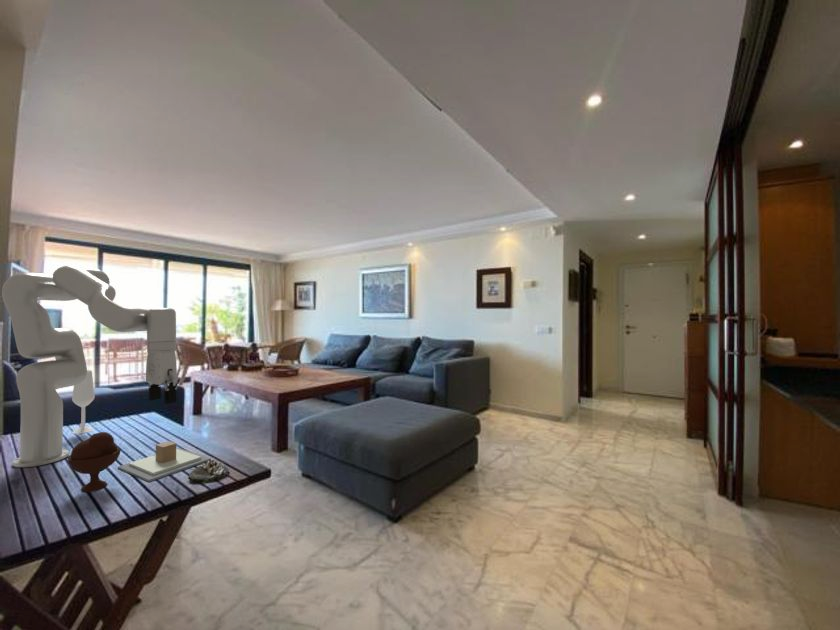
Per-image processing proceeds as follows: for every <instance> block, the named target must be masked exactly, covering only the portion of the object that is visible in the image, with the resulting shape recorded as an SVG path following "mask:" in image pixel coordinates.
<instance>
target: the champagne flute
mask: <svg viewBox="0 0 840 630" xmlns="http://www.w3.org/2000/svg"><path fill="white" fill-rule="evenodd" d="M93 376H94V375H93V370H91V369H87V375H86V378H85V379H84V381H83V382H81V383H80V384H77V385H74V386H73V391H72V398H71V401H72V402H73V403H74V404H75V405H76V406H78V407H80V408H81V411H80V413H81V417H80V419H81V421H80V426H79V427H78V428H76V429H75V430H73V431H71V434H75V435H78V434H86V433H90V432H93V431H94V430H95V429H94V428H93V427H90V426H86V407H88V406H90V404H91V403H92V402H93V401H94V400H95V398H96V396H95V395H96V394H95V389H94V388H95V385H94V378H93Z"/></svg>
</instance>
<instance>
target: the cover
mask: <svg viewBox="0 0 840 630" xmlns="http://www.w3.org/2000/svg"><path fill="white" fill-rule="evenodd" d="M200 459H201V457H200V456H197V455H194V454H191V453H188V452H185V451H182V450H179V449H178V448H177V442H175V441H174V442H173V441H171V440H168V441H165V442H161V443H158V444H155V455H151V456H147V457H144V458H140V459H137V460H134V461H131V462H129V466H131V467H134V468H136V469H138V470H141V471H143V472H146V473H148V474H150V475H153V476H154V475H157V474H159V473H162V472H165V471H168V470H171V469H174V468H177V467H180V466H183V465H186V464H189V463H192V462H195V461H197V460H200Z"/></svg>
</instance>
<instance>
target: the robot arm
mask: <svg viewBox="0 0 840 630" xmlns="http://www.w3.org/2000/svg"><path fill="white" fill-rule="evenodd" d="M110 282H111V281H110V278H109V276H108V275H107V274H106V273H105V272H104V271H102V269H101V270H100V269H98V268H92V267H88V266H87V267H86V266H80V265H63V266H61V267H58V268H57V269H55V270H54V272H53V274H46V273H40V272H39V273H37V272H36V273H35V272H22V273H21V272H20V273H17V274H13V275H11V276H9V278H7V279H6V280H5V282H4V283H3V285H2V288H1V298H2V301H3V304H4V306H5V308H6V310H7V312H8V315H9V317H10V321H11V326H12V331H13V332H12V333H13V335H14V341H15V344H16V348H17V352H18V353H19V355H20V356H21V357H23V358H27V359H43V358H52V357H53V358H55V359H53V360H47V361H39V362H38V361H37V362H33V363H29V364H27V365H25V366H23V367H21V369H19V370H18V372H17V374H16V378H15V381H16V385H17V389H18V392H19V399H20V400H19V401H20V425H19V426H20V428H19V429H20V434H19V437H20V438H19V439H20V440H19V443H20V444H19V446H20V447H19V457H16V458H15V459H13V460H12V466H13V467H15V468H32V467H39V466H45V465H47V464H48V465H49V464H52V463H55V462H59V461H61V460H64V459H67V457H68V456H70V452H69V450H68V449H63V445H64V444H63V439H64V438H63V436H64V435H63V434H64V433H63V431H64V429H63V428H64V402H63V399H62V397H61V396H60V394H59V393H58V392H57V390H59V389H64V388H69V387H74V385H77V384H80V383H81V382H83V381H84V379H85V378H86V375H87V370H88V367H87V366H88V365H87V363H86V357H85V356H86V355H85V352H84V348H83V343H82V340H81V338H80V336H79V335H78V333H77V332H76V331H74V330H73V329H70V328H65V327H57V328H56V327H53V326H52V323H51V319H50V314H49V313H48V311H47V310H46V308H44V306H43V305H41V303H39V302H38V301H56V302H57V301H59V302H60V301H61V302H68V301H75V300H78V301H80V302H81V303H83V304H85V305H87V307H88V308H87V309H88V312H89V313H90V316H91V317H92V318H93V319H94V320H95V321H96V322H98V323H99V324H101V325H102V326H103V327H106V328H108V329H110V330H112V331H115V332H119V333H131V332H146V350H147V351H146V352H147V357H146V364H145V365H146V366H145V381H146V382H147V383H148V386H147V387H148V400H149V401H156V400H161V398H162V386H161V385H163V388H164V391H163V404H165V405H169V404H173V403H176V402H177V390H178V381H179V376H178V375H177V373H178V372H177V371H178V369H177V358H176V351H177V312H176V310H175V309H174V308H170V307H169V308H167V307H153V308H151V307H136V306H135V307H128V306H127V307H125V306H124V307H123V306H121V305H119V304H117V303H116V302H114V300H115V297H116V293H117V291H116V290H115V287H114V286H113V285H110Z"/></svg>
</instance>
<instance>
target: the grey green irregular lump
mask: <svg viewBox="0 0 840 630" xmlns="http://www.w3.org/2000/svg"><path fill="white" fill-rule="evenodd" d="M223 464H224V463H223V462H221V461H216V460H215V458H211V460H210V461H207V462H205V463H203V464H202V465H200V466H199V465H198V467H195V468H193V470H191V471H190V472H189V475H188V477H187V479H188V480H189V482H191V484H196V485H197V484H198V485H200V484H208V483H214V482H218V481H221V480H223V479H226V478H228V477H229V475H230V474H231V473H230V471H229V468H228V467H227V466H225V465H223Z"/></svg>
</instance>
